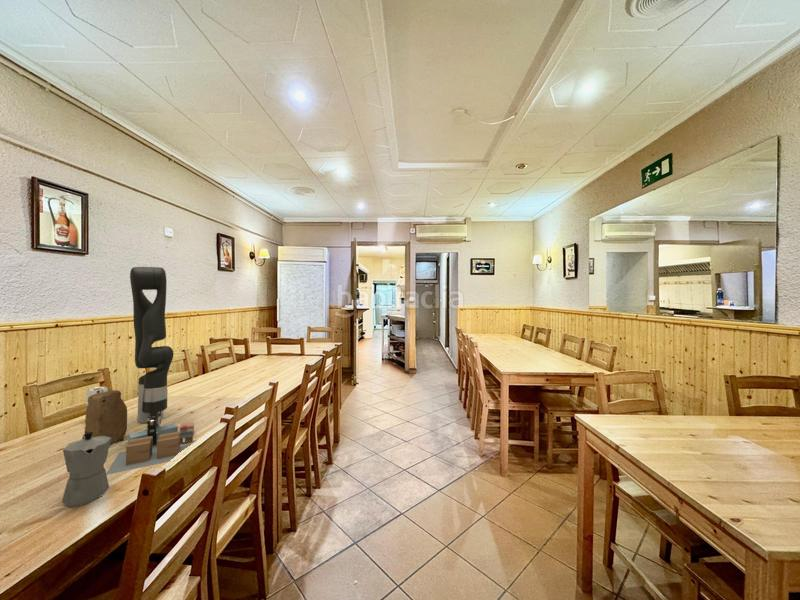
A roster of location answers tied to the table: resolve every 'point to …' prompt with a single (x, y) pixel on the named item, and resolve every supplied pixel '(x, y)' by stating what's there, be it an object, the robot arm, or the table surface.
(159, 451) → the base cube
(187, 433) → the model
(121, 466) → the grey flat sheet
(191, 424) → the terracotta cube
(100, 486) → the coffeepot
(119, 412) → the block
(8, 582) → the table surface
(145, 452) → the base cube
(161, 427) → the lintel
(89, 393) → the beer glass
